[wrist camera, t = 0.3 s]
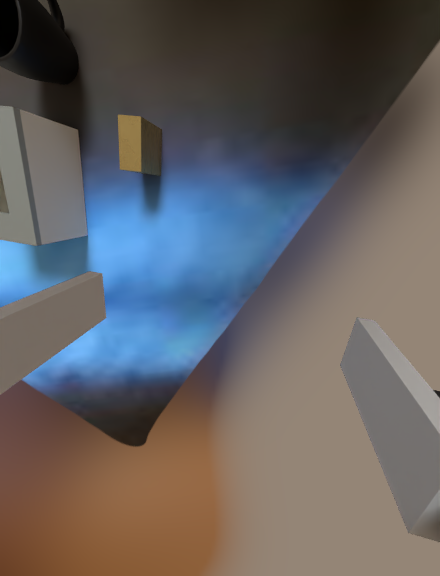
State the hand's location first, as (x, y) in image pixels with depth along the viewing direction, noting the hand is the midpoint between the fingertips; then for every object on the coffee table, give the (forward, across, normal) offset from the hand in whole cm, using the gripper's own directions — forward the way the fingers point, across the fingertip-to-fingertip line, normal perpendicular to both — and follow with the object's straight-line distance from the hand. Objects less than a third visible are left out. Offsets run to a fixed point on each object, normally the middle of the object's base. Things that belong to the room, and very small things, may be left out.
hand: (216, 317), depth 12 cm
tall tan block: (+27, -17, +10) cm, 33 cm away
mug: (+27, -30, +23) cm, 46 cm away
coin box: (+27, -35, +5) cm, 44 cm away
